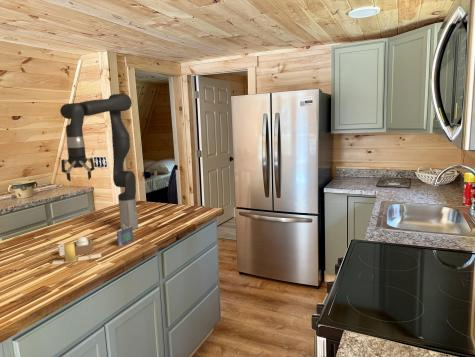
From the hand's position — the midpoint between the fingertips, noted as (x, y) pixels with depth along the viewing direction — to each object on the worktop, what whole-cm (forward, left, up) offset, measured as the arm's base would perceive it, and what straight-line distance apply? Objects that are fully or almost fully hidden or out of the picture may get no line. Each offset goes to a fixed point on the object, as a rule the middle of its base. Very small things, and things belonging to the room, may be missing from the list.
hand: (79, 180), depth 166 cm
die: (+9, +11, -32) cm, 35 cm away
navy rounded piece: (-18, +9, -33) cm, 39 cm away
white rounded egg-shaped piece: (+1, +12, -31) cm, 33 cm away
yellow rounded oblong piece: (+6, +21, -32) cm, 38 cm away
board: (+3, +16, -33) cm, 37 cm away
